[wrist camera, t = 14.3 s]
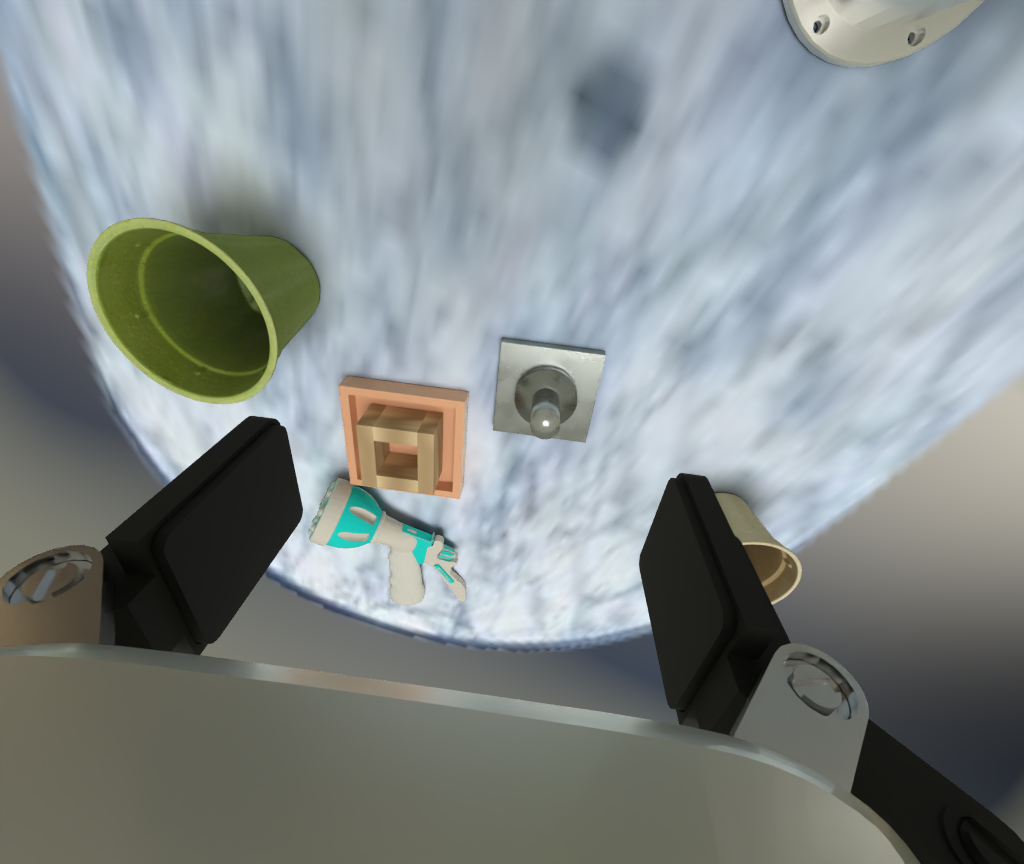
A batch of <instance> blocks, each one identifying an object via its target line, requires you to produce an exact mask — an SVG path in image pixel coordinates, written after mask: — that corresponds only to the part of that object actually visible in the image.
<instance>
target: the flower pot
mask: <svg viewBox="0 0 1024 864" xmlns="http://www.w3.org/2000/svg"><path fill="white" fill-rule="evenodd" d="M715 495H716V497H717V500H718V502H719V504H720V506H721V508H722V510H723V512H724V514H725V516H726V518H727V521H728V523H729V525H730V527H731V529H732V531H733V533H734V535H735V536H736V537H738V538H739V539H740V541H741V542H742V544H743V546H744V548H745V550H746V552H747V554H748V556H749V558H750V560H751V562H752V564H753V566H754V569H755V571H756V573H757V575H758V577H759V579H760V581H761V583H762V585H763V587H764V589H765V591H766V593H767V595H768V597H769V599H770V601H771V603H772V604H775V603H776V602H778V601H780V600H782V599H783V598H785V597H786V596H787V595H788V594H790V593H791V592H792V591H793V590H794V588H795V587H796V586H797V584H798V582H799V581H800V578H801V573H802V568H801V564H800V561H799V560H798V558H797V557H796V556H795V554H794V553H793V552H792V551H790V550H789V549H788V548H786V547H784V546H783V545H782V544H781V543H779V542H778V541H777V540H775V539H774V538H773V537H772V536H771V535H770V533H769V532H768V531H767V530H766V528H765V527H764V526H763V525H762V523H761V522H760V521H759V520H758V518H757V517H756V516H755V515H754V513H753V512H752V511H751V510H750V508H749V507H748V506H747V504H746V503H745V502H744V501H743V500H742V499H741V498H739V497H738V496H736V495H733V494H728V493H716V494H715Z"/></svg>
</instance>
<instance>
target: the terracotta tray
mask: <svg viewBox="0 0 1024 864" xmlns="http://www.w3.org/2000/svg"><path fill="white" fill-rule="evenodd" d="M339 394H340V402H341V410H342V418H343V426H344V434H345V443H346V451H347V459H348V467H349V475H350V484H352V485H360V486H363V485H362V478H361V468H360V459H359V449H358V440H357V430H356V424H357V422H358V421H359V420H360V418H361V417H362V416H363V414H364V413H365V412H366V410H367V409H368V408H369V406H370V405H371V404H372V403H374V404H382V405H390V406H397V407H405V408H413V409H420V410H428V411H435V412H443V459H442V472H441V475H440V478H439V481H438V483H437V486H436V489H435V492H434V496H441V497H449V498H456V499H460V496H461V493H462V489H463V483H464V465H465V448H466V430H467V413H468V396H469V392H467V391H460V390H452V389H444V388H437V387H429V386H422V385H414V384H406V383H399V382H391V381H383V380H376V379H368V378H361V377H353V376H347V377H346V378H345V379H344V380H343V381H342V382H341V383H340V385H339ZM389 446H390V452H397V453H404V454H412V455H418V454H417V446H410V445H402V444H395V443H389ZM367 487H370V486H367ZM374 488H378V487H374ZM382 489H385V488H382ZM389 490H393V489H389ZM397 491H400V490H397ZM404 492H408V491H404ZM412 493H415V492H412ZM419 494H423V493H419ZM427 495H430V494H427Z"/></svg>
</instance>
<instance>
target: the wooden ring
mask: <svg viewBox="0 0 1024 864" xmlns="http://www.w3.org/2000/svg"><path fill="white" fill-rule="evenodd" d="M356 430H357V440H358V449H359V459H360V468H361V478H362V485H363V486H370V487H378V488H385V489H393V490H400V491H408V492H415V493H423V494H430V495H434V492H435V489H436V486H437V483H438V481H439V478H440V475H441V472H442V459H443V412H435V411H428V410H420V409H413V408H405V407H397V406H390V405H382V404H374V403H372V404H371V405H370V406H369V408H368V409H367V410H366V412H365V413H364V414H363V416H362V417H361V418H360V420H359V421H358V422H357V424H356ZM389 443H395V444H402V445H410V446H417V454H418V455H412V454H404V453H397V452H390V446H389Z"/></svg>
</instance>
